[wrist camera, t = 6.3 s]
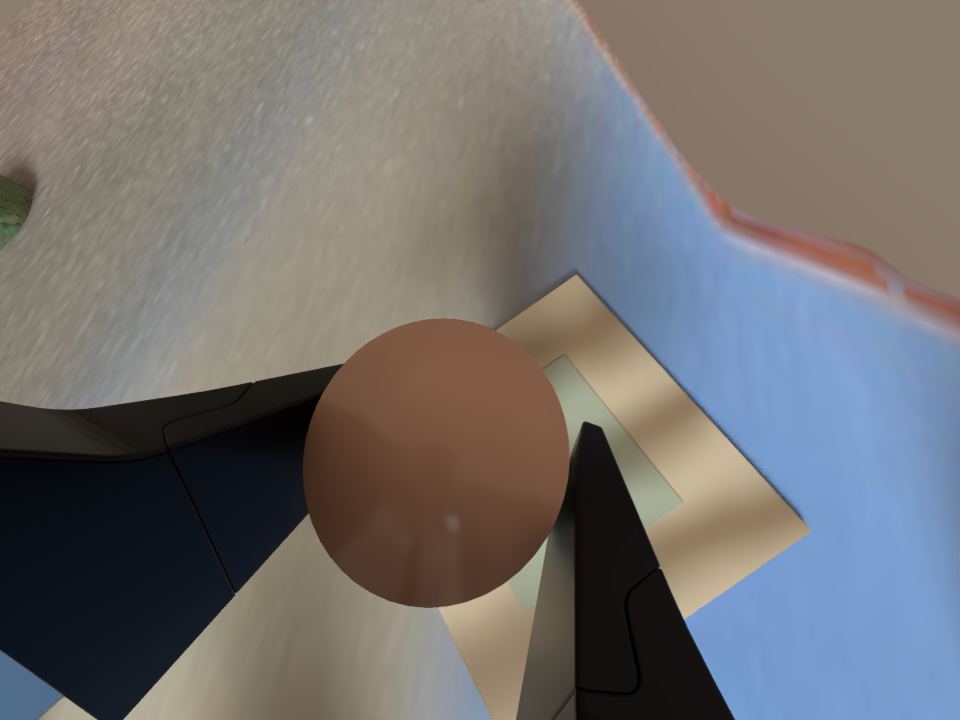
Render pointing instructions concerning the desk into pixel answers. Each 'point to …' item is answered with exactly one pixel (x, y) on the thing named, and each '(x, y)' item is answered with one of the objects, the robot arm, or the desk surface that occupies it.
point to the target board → (628, 482)
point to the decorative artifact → (12, 209)
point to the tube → (436, 463)
